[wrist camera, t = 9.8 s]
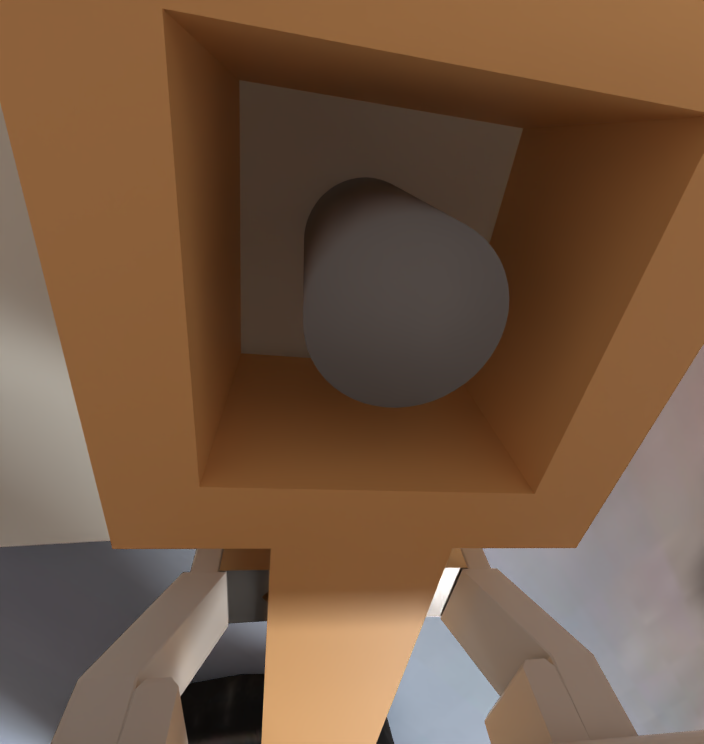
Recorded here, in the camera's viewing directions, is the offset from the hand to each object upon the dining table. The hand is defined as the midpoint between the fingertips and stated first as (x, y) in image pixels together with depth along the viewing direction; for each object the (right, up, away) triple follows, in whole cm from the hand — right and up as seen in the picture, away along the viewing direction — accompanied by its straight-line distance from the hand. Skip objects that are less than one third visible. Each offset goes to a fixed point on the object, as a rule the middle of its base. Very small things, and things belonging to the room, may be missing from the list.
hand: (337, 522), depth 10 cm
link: (0, +2, +1) cm, 2 cm away
